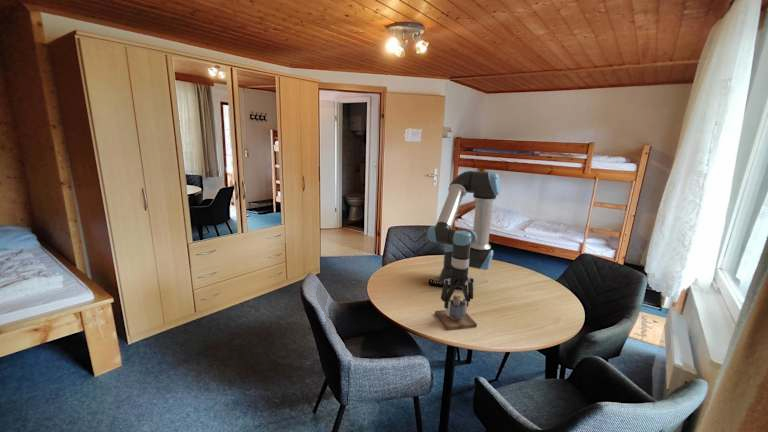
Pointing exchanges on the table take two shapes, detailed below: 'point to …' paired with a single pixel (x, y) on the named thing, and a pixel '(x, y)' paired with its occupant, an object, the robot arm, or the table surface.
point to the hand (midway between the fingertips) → (455, 313)
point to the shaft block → (453, 322)
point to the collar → (457, 309)
